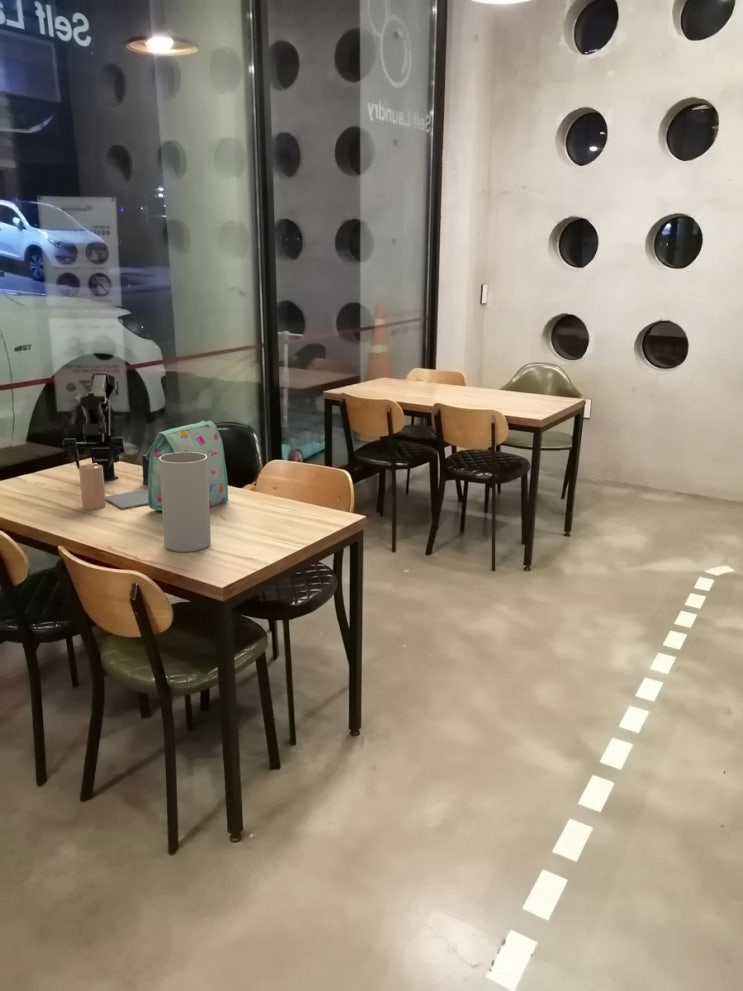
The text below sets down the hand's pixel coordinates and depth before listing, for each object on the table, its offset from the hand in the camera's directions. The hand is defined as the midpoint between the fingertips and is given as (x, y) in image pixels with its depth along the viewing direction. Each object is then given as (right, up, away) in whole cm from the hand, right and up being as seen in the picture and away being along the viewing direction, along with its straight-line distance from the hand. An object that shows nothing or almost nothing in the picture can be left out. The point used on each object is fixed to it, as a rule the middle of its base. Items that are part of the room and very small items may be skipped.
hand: (93, 468), depth 246 cm
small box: (+13, -4, +28) cm, 31 cm away
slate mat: (+11, -10, +6) cm, 16 cm away
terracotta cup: (+1, -12, -1) cm, 12 cm away
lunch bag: (+31, -13, +1) cm, 33 cm away
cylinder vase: (+38, -23, -33) cm, 56 cm away
